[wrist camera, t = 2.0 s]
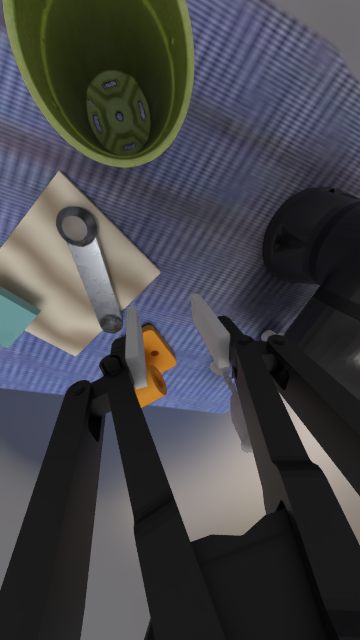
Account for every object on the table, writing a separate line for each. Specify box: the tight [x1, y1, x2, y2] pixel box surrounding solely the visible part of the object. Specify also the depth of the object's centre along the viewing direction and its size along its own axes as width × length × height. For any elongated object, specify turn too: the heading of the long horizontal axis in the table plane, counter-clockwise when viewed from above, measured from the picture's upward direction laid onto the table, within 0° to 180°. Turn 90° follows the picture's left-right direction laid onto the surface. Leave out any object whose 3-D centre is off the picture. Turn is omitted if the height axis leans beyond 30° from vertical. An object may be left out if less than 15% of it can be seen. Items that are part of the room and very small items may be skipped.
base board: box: [0, 171, 161, 356], centre depth 28 cm, size 22×17×5 cm
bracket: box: [135, 325, 177, 408], centre depth 35 cm, size 11×7×12 cm, turn 27°
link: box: [56, 206, 123, 333], centre depth 28 cm, size 18×4×2 cm, turn 6°
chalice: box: [210, 361, 253, 452], centre depth 40 cm, size 7×7×18 cm
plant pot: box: [2, 0, 194, 168], centre depth 18 cm, size 12×12×11 cm
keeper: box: [0, 286, 42, 348], centre depth 27 cm, size 7×6×5 cm
